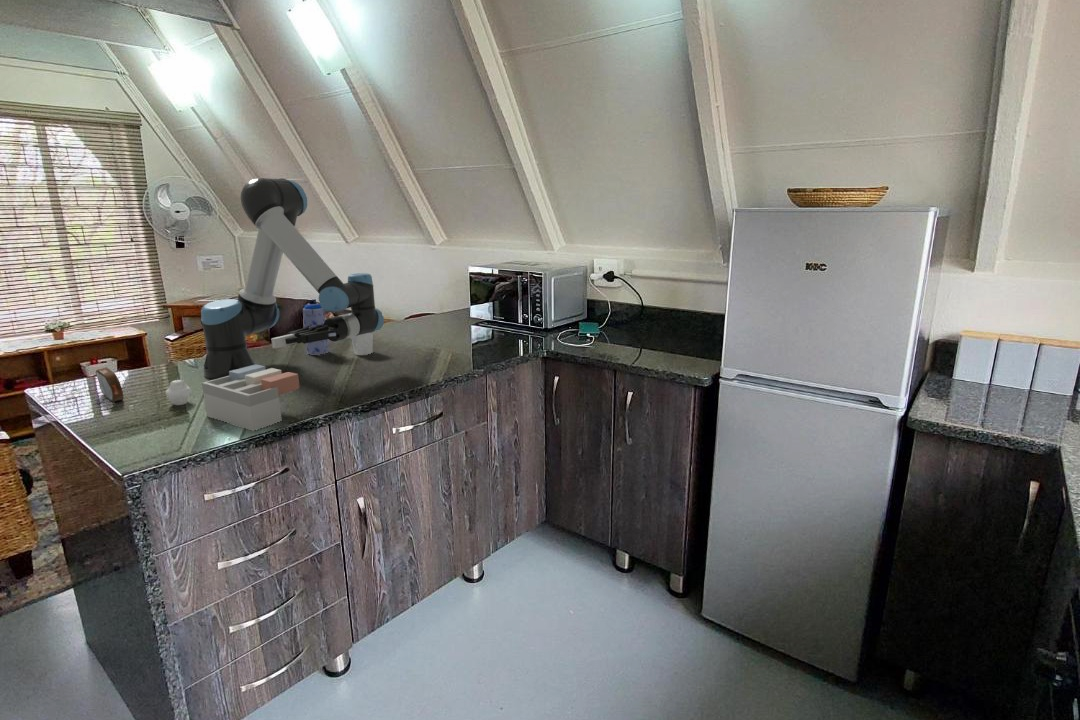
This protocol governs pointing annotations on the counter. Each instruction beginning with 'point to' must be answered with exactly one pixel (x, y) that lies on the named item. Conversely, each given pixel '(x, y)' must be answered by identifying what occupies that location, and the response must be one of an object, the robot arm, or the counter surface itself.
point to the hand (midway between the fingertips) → (273, 343)
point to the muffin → (178, 392)
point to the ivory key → (261, 376)
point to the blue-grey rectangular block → (245, 372)
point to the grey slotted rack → (241, 403)
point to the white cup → (363, 344)
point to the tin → (109, 384)
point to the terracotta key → (281, 382)
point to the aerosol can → (312, 318)
